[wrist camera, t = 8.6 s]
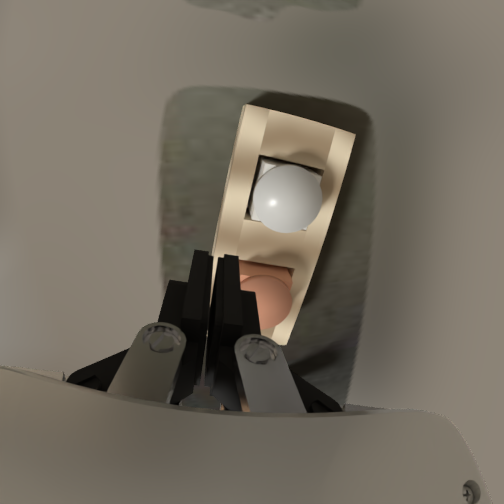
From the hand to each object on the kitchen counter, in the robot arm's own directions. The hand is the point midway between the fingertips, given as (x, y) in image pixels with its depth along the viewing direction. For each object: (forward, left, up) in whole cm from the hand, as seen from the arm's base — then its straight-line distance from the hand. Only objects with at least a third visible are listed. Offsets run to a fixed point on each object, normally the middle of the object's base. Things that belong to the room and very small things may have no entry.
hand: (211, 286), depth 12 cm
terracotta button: (+9, +6, -19) cm, 22 cm away
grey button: (-1, +6, -20) cm, 20 cm away
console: (+4, +6, -21) cm, 22 cm away
